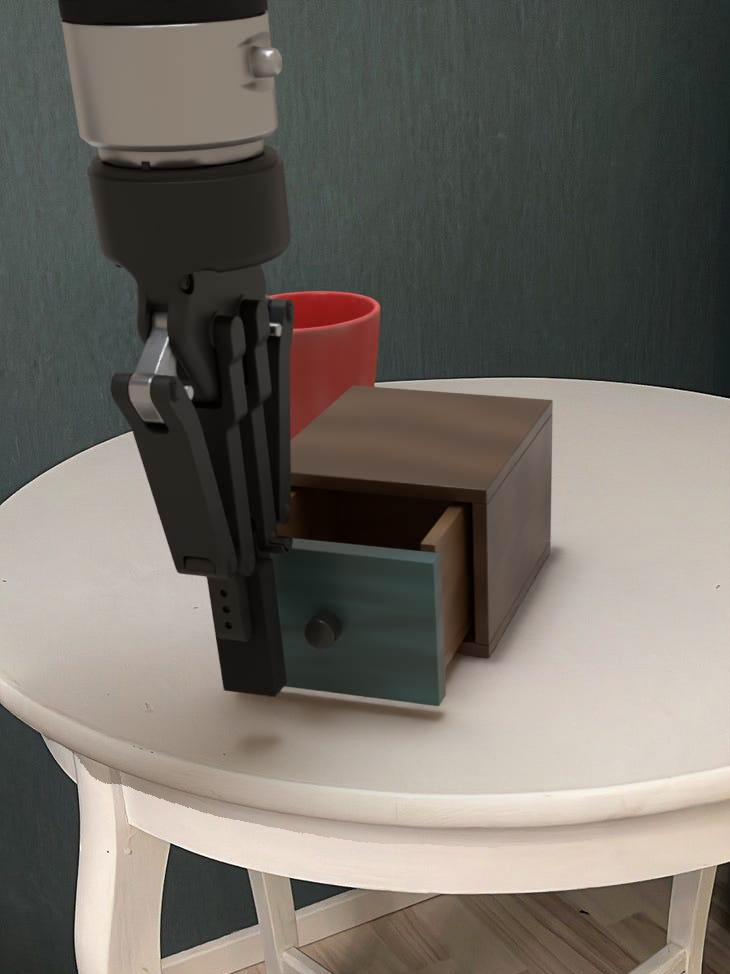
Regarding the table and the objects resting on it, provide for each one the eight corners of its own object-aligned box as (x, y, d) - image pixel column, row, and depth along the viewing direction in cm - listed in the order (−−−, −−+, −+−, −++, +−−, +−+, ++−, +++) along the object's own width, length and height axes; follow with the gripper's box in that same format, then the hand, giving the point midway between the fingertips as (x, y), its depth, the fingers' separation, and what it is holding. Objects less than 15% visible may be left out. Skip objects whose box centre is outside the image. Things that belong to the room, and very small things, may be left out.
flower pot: (225, 433, 104) (208, 301, 98) (355, 409, 108) (346, 281, 102) (273, 477, 97) (257, 337, 91) (411, 450, 101) (405, 314, 95)
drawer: (432, 718, 67) (425, 573, 63) (222, 691, 70) (201, 549, 65) (507, 593, 79) (507, 462, 74) (324, 573, 81) (313, 446, 77)
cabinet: (489, 658, 74) (486, 489, 68) (276, 632, 77) (257, 469, 71) (550, 551, 85) (552, 399, 80) (363, 533, 88) (352, 384, 83)
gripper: (198, 182, 46) (273, 766, 60) (336, 123, 56) (373, 635, 70) (4, 175, 48) (122, 744, 62) (172, 119, 58) (240, 619, 72)
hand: (255, 686), depth 66 cm, fingers closed
